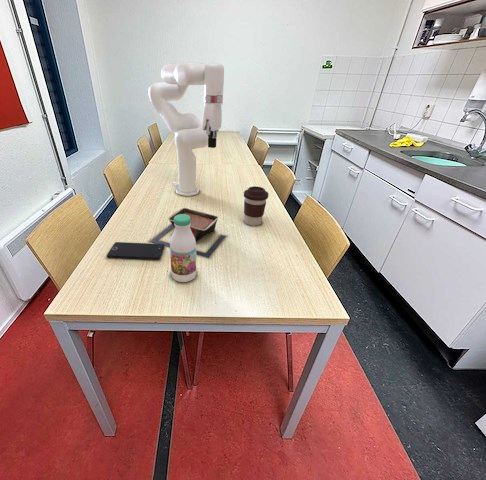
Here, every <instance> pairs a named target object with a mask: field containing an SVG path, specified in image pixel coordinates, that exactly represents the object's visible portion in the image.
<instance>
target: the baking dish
mask: <svg viewBox="0 0 486 480" xmlns="http://www.w3.org/2000/svg"><path fill="white" fill-rule="evenodd" d="M179 214H186V215H189V216H190V218H191V225H190V229H191V231H192V233H193V235H194V237H195V241H196V243H198V241H200V240H201V239H202V238H203V237H205V236H208V235H211V234H213V233H214V232H215V230H216V225H217V222H218V220H219V216H218V215H214V214H210V213H207V212H204V211H200V210H195V209H191V208H188V207H183V208H182V207H181V208H180V209H179V210H176V211H175V212H173V213H172V214H171V215H170V216H169V217H168V221H169V222H170V224H172V225H173V226H174V227H173V229H174V230H175V225H174V217H175V216H176V215H179Z"/></svg>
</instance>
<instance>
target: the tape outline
mask: <svg viewBox="0 0 486 480" xmlns="http://www.w3.org/2000/svg"><path fill="white" fill-rule="evenodd" d="M172 229H174V226H173V225H172V223H170V225H169V226H167V227H166V228H165V229H163V230H162V231H161V232H159V234H157V235H156V236H155V237H154V238H153V239H151V240H150V241H149V242H150V243H152V244H164V247H168V248H170V242H166V241H162V240H160V239H162V238H163V237H164V236H165V235H166V234H168V232H170V231H171V230H172ZM225 238H226V235H223V234H221V235H219V237H218V238H217V239H216V241H215V242H214V243H213V244H212V245H211V246H210V248H208V250H207V251H206V252H204V251H199V250H196V256H200V257H204V258H210V257H211V255H212V254H214V252H215V250H216V249H217V248H218V247H219V245H220V244H221V243H222V242H223V241H224V239H225Z"/></svg>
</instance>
